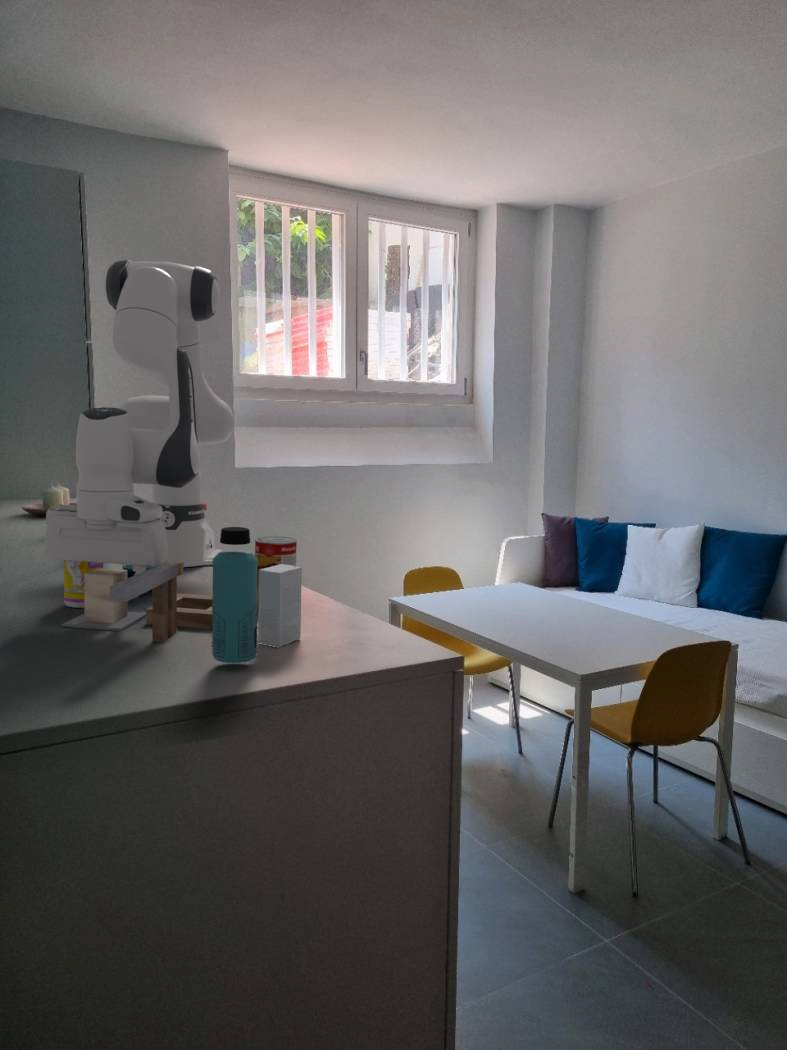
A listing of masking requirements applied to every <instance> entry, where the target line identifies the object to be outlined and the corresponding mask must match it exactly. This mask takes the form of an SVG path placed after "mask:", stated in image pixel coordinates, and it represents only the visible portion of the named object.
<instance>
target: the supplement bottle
mask: <svg viewBox="0 0 787 1050" xmlns="http://www.w3.org/2000/svg"><path fill="white" fill-rule="evenodd" d="M78 568H79V570H80V572H81V574H82V575H84V574H85V573H88V572H91V571H93V570H96V569H99V568H103V569H104V563H98V562H83V561H80V565H78ZM63 602H64V605H65V606H67V607H68V608H76V609H85V601H84V587H74V586H73V577H72V576H71V574H70V573H69V571H68V569H67V568H66V560H63Z"/></svg>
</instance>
